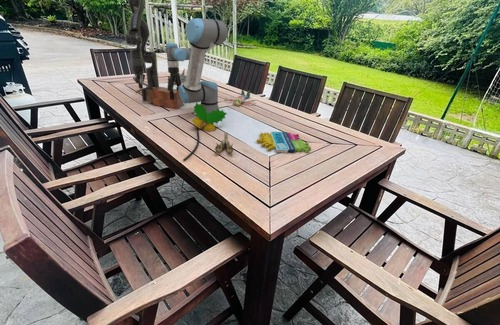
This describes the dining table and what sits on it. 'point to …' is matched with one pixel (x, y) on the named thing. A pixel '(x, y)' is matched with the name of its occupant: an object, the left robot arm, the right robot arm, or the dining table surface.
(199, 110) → the ornament
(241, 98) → the toy
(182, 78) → the airplane
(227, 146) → the jawbone
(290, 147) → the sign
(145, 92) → the drawer
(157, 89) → the cabinet
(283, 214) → the dining table surface
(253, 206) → the dining table surface
